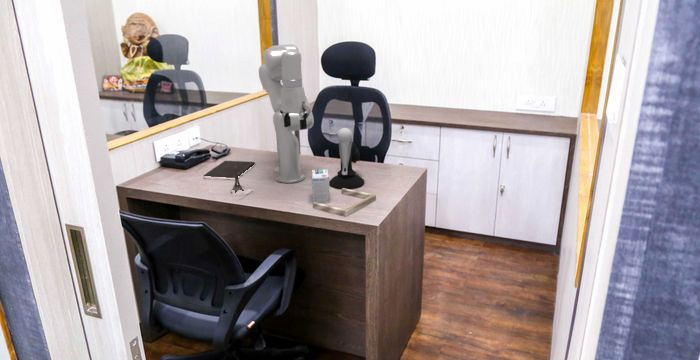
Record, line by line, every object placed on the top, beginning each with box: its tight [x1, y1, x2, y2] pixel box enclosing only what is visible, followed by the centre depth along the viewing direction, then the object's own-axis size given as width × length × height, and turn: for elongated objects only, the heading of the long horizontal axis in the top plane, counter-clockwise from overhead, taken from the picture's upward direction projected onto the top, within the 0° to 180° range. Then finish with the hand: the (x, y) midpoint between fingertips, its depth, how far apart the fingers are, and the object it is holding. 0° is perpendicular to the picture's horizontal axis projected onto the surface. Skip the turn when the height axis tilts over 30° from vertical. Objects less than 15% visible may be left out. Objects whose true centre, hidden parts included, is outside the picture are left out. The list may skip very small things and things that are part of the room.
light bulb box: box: [311, 168, 330, 204], centre depth 209 cm, size 11×7×11 cm, turn 5°
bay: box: [312, 188, 377, 218], centre depth 204 cm, size 16×20×2 cm
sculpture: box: [329, 127, 365, 190], centre depth 226 cm, size 15×24×25 cm, turn 167°
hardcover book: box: [203, 160, 256, 178], centre depth 247 cm, size 16×23×2 cm
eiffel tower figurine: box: [231, 166, 244, 193], centre depth 218 cm, size 15×10×13 cm
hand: (295, 127), depth 208 cm, fingers open, 7 cm apart
